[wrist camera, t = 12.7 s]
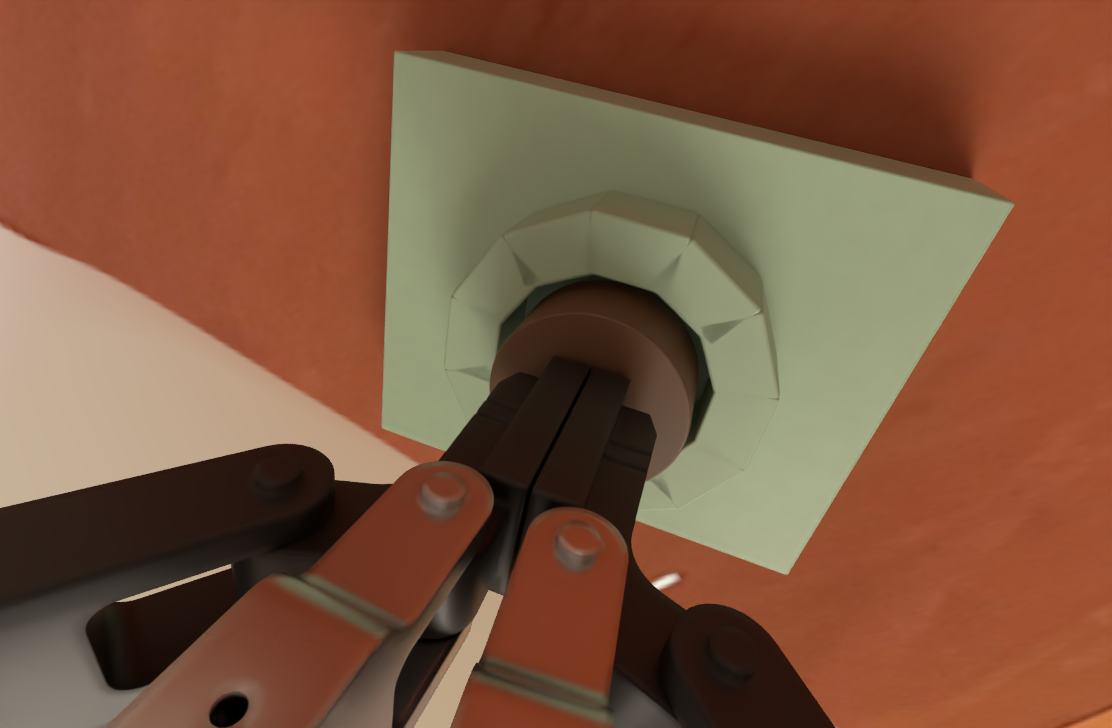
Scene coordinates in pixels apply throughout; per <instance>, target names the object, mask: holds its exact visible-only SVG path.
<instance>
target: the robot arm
mask: <svg viewBox="0 0 1112 728" xmlns="http://www.w3.org/2000/svg"><path fill="white" fill-rule="evenodd" d="M630 382H631V380H629V379H626V378H623V377H620V376H617V375H614V374H611V373H608V372H605V371H602V370H598V369H595V368H594V369H593V370H592V372H591V367H589V366H586V365H583V364H579V363H576V362H573V361H570V360H567V359H564V358H561V357H558V356H554V357H553V358H552V359H551V361H550V362H549V364H548V365H547V367H546V369H545V370H544V372H543V373H542V375H541V376H540V378H538V377H535V376H532V375H529V374H526V373H523V372H518V373H516V374H514V375H512V376H510V377H508V378H506V379H504V380H502V381H500V382H499V383H498V384H497V385H496V387H495V388H494V389H493V391H492V392H491V393H490V395H489V396H488V397H487V400H485V401H484V402H483V404H482V405H481V406H480V408H479V409H478V410H477V413H476V414H474V415H473V417H472V418H471V419H470V421H469V422H468V423H467V424H466V426H465V427H464V428H463V430H462V431H461V432H460V434H459V435H458V436H457V437H456V439H455V440H454V441H453V443H452V444H451V445H450V447H449V448H448V449H447V450H446V452H445V453H444V454H443V456H442V457H441V458H440V460H439V461H434V462H427V463H424V464H420V465H418V466H415V467H413V468H411V469H410V470H408V471H406V472H405V473H404V474H403V475H402V476H400V477H399V478H398V479H397V480H396V481H395V483H394V484H369V483H359V482H349V481H338V480H335V478H334V477H335V476H334V468H333V465H332V463H331V462H330V460H329V459H328V458H327V457H326V456H325V455H324V454H322V453H321V452H319V451H318V450H316V449H313V448H311V447H307V446H303V445H297V444H277V445H270V446H265V447H261V448H257V449H252V450H248V451H244V452H240V453H235V454H231V455H226V456H223V457H218V458H214V459H209V460H205V461H201V462H196V463H192V464H188V465H184V466H179V467H175V468H171V469H167V470H162V471H158V472H154V473H149V474H145V475H141V476H136V477H132V478H128V479H123V480H119V481H115V482H110V483H106V484H102V485H98V486H93V487H89V488H85V489H81V490H76V491H72V492H68V493H63V494H59V495H55V496H50V497H46V498H42V499H38V500H33V501H29V502H25V503H21V504H16V505H12V506H8V507H3V508H0V728H414V726H415V724H416V722H417V721H418V719H419V717H420V716H421V714H422V712H423V710H424V709H425V707H426V706H427V704H428V702H429V700H430V699H431V697H432V695H433V694H434V692H435V690H436V688H437V687H438V685H439V684H440V682H441V680H442V678H443V677H444V675H445V673H446V671H447V670H448V668H449V667H450V665H451V663H452V662H453V660H454V658H455V656H456V655H457V653H458V651H459V650H460V648H461V646H462V644H463V643H464V641H465V639H466V638H467V636H468V634H469V632H470V629H471V625H472V621H473V619H474V617H475V615H476V614H477V612H478V610H479V608H480V606H481V604H482V602H483V600H484V597H485V596H486V594H487V592H488V590H491V591H493V592H496V593H498V594H501V595H503V596H504V597H503V599H502V602H501V605H500V608H499V610H498V613H497V616H496V619H495V621H494V624H493V627H492V630H491V633H490V635H489V638H488V641H487V644H486V647H485V649H484V652H483V654H482V657H481V659H480V661H479V663H476V664H475V666H474V668H473V670H472V672H471V675H470V677H469V679H468V682H467V684H466V687H465V690H464V692H463V695H462V697H461V700H460V703H459V705H458V708H457V711H456V714H455V716H454V719H453V722H452V724H451V727H450V728H835V727H834V725H833V724H832V722H831V721H830V719H829V718H828V717H827V715H826V714H825V712H824V711H823V709H822V708H821V707H820V705H819V704H818V702H817V701H816V699H815V698H814V697H813V695H812V694H811V692H810V691H809V689H808V688H807V687H806V685H805V684H804V682H803V681H802V679H801V678H800V676H799V675H798V674H797V672H796V671H795V669H794V668H793V666H792V665H791V664H790V662H789V661H788V659H787V658H786V656H785V655H784V654H783V652H782V651H781V649H780V648H779V646H778V645H777V644H776V642H775V641H774V640H773V638H772V637H771V636H770V635H769V634H768V633H767V632H766V631H765V630H764V628H763V627H762V626H760V625H759V624H758V623H757V622H755V621H754V620H753V619H751V618H750V617H748V616H747V615H745V614H744V613H742V612H739V611H737V610H735V609H733V608H730V607H727V606H723V605H718V604H701V605H696V606H694V607H691V608H689V609H687V610H685V609H684V608H682V607H681V606H680V605H678V604H677V603H675V602H674V601H673V600H671V599H670V598H668V597H667V596H666V595H664V594H663V593H662V592H660V591H659V590H658V589H657V588H655V587H654V586H653V585H652V584H651V583H650V582H649V581H648V580H647V578H646V577H645V576H644V575H643V573H642V572H641V570H640V569H639V567H638V565H637V563H636V561H635V559H634V556H633V552H632V548H631V537H632V532H633V528H634V524H635V520H636V516H637V512H638V508H639V504H640V500H641V496H642V492H643V488H644V484H645V480H646V476H647V472H648V468H649V465H650V461H651V456H652V453H653V449H654V445H655V441H656V437H657V433H656V430H655V427H654V424H653V421H652V418H651V416H650V414H647V413H644V412H641V411H638V410H635V409H632V408H629V407H626V406H623V405H624V402H625V399H626V396H627V392H628V389H629V386H630ZM229 564H231V568H230V569H228V570H225V571H221V572H219V573H216V574H212V575H209V576H206V577H203V578H200V579H197V580H194V581H191V582H188V583H185V584H182V585H179V586H176V587H173V588H170V589H167V590H164V591H161V592H158V593H155V594H152V595H149V596H146V597H143V598H140V599H137V600H133V601H128V602H116V601H119V600H122V599H125V598H128V597H131V596H134V595H137V594H140V593H143V592H146V591H149V590H152V589H155V588H158V587H161V586H165V585H168V584H171V583H174V582H177V581H180V580H183V579H186V578H189V577H192V576H195V575H198V574H201V573H204V572H207V571H210V570H213V569H216V568H219V567H222V566H225V565H229Z"/></svg>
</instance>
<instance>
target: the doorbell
mask: <svg viewBox="0 0 1112 728" xmlns="http://www.w3.org/2000/svg"><path fill="white" fill-rule="evenodd" d="M1013 206H1014V202H1012V201H1011V200H1009V199H1007V198H1005V197H1004V196H1002V195H1000V194H999V193H997V192H995V191H993V190H992V189H990V188H988V187H987V186H985V185H983V184H981V183H980V182H978V181H976V180H974V179H972V178H968V177H963V176H959V175H955V174H951V173H947V172H943V171H939V170H935V169H930V168H926V167H922V166H918V165H914V164H910V163H906V162H901V161H897V160H893V159H889V158H885V157H881V156H877V155H873V154H868V153H864V152H860V151H856V150H852V149H848V148H844V147H839V146H835V145H831V144H827V143H823V142H819V141H815V140H811V139H806V138H802V137H798V136H794V135H790V134H786V133H782V132H778V131H773V130H769V129H765V128H761V127H757V126H753V125H749V124H744V123H740V122H736V121H732V120H728V119H724V118H720V117H716V116H711V115H707V114H703V113H699V112H695V111H691V110H687V109H683V108H678V107H674V106H670V105H666V104H662V103H658V102H654V101H649V100H645V99H641V98H637V97H633V96H629V95H625V94H621V93H616V92H612V91H608V90H604V89H600V88H596V87H592V86H588V85H583V84H579V83H575V82H571V81H567V80H563V79H559V78H554V77H550V76H546V75H542V74H538V73H534V72H530V71H526V70H521V69H517V68H513V67H509V66H505V65H501V64H497V63H492V62H488V61H484V60H480V59H476V58H472V57H468V56H464V55H459V54H455V53H451V52H447V51H417V50H397V51H395V52H394V71H393V101H392V130H391V159H390V188H389V217H388V247H387V276H386V305H385V334H384V363H383V393H382V422H381V427H382V428H383V429H386V430H388V431H391V432H394V433H397V434H399V435H402V436H405V437H408V438H410V439H413V440H416V441H419V442H421V443H424V444H427V445H430V446H432V447H435V448H438V449H441V450H443V451H446V450H447V449H448V448H449V447H450V445H451V444H452V443H453V441H454V440H455V439H456V437H457V436H458V435H459V434H460V432H461V431H462V430H463V428H464V427H465V426H466V424H467V423H468V422H469V421H470V419H471V418H472V417H473V415H474V414H476V413H477V410H478V409H479V408H480V406H481V405H482V404H483V402H484V401H485V400H487V397H488V396H489V395H490V389H489V385H490V374H491V370H492V365H493V363H494V360H495V358H496V355H497V353H498V351H499V350H500V348H501V346H502V345H503V344H504V342H505V341H506V340H507V339H508V338H509V336H510V335H511V334H512V333H513V332H514V331H515V329H516V328H517V327H518V326H519V325H520V324H521V322H522V321H523V320H524V319H525V318H526V317H527V315H528V314H529V313H530V312H531V311H532V310H533V308H534V307H535V306H536V305H537V304H538V303H539V302H540V301H541V300H542V299H544V298H545V297H546V296H547V295H549V294H550V293H552V292H554V291H555V290H557V289H559V288H562V287H564V286H566V285H570V284H573V283H576V282H582V281H588V280H606V281H615V282H619V283H624V284H628V285H631V286H633V287H636V288H639V289H641V290H643V291H645V292H647V293H649V294H651V295H652V296H654V297H655V298H657V299H658V300H660V301H661V302H663V303H664V304H665V305H666V306H667V307H668V308H669V309H671V310H672V311H673V313H674V314H675V315H676V316H677V317H678V318H679V319H680V320H681V322H682V323H683V325H684V326H685V328H686V329H687V331H688V333H689V335H690V337H691V339H692V341H693V344H694V347H695V350H696V353H697V359H698V371H699V376H698V384H697V390H696V396H695V402H694V408H693V414H692V420H691V425H690V431H689V434H688V437H687V441H686V443H685V445H684V447H683V449H682V451H681V452H680V454H679V455H678V457H677V458H676V459H675V461H674V462H673V463H672V464H671V465H670V466H669V467H668V468H667V469H666V470H664V471H663V472H662V473H660V474H659V475H658V476H656V477H654V478H652V479H651V480H649V481H647V482H645V484H644V488H643V492H642V496H641V500H640V504H639V508H638V512H637V516H636V521H639V522H642V523H645V524H647V525H650V526H653V527H656V528H658V529H661V530H664V531H667V532H669V533H672V534H675V535H678V536H680V537H683V538H686V539H689V540H691V541H694V542H697V543H700V544H702V545H705V546H708V547H711V548H713V549H716V550H719V551H722V552H724V553H727V554H730V555H733V556H735V557H738V558H741V559H744V560H746V561H749V562H752V563H755V564H758V565H760V566H763V567H766V568H769V569H771V570H774V571H777V572H780V573H782V574H785V575H787V574H788V573H789V571H790V570H791V568H792V567H793V565H794V563H795V562H796V560H797V558H798V557H799V555H800V553H801V552H802V550H803V549H804V547H805V545H806V544H807V542H808V540H809V539H810V537H811V536H812V534H813V532H814V531H815V529H816V527H817V526H818V524H819V523H820V521H821V519H822V518H823V516H824V514H825V513H826V511H827V509H828V508H829V506H830V505H831V503H832V501H833V500H834V498H835V496H836V495H837V493H838V492H839V490H840V488H841V487H842V485H843V483H844V482H845V480H846V478H847V477H848V475H849V474H850V472H851V470H852V469H853V467H854V465H855V464H856V462H857V461H858V459H859V457H860V456H861V454H862V452H863V451H864V449H865V447H866V446H867V444H868V443H869V441H870V439H871V438H872V436H873V434H874V433H875V431H876V430H877V428H878V426H879V425H880V423H881V421H882V420H883V418H884V416H885V415H886V413H887V412H888V410H889V408H890V407H891V405H892V403H893V402H894V400H895V399H896V397H897V395H898V394H899V392H900V390H901V389H902V387H903V386H904V384H905V382H906V381H907V379H908V377H909V376H910V374H911V372H912V371H913V369H914V368H915V366H916V364H917V363H918V361H919V359H920V358H921V356H922V355H923V353H924V351H925V350H926V348H927V346H928V345H929V343H930V341H931V340H932V338H933V337H934V335H935V333H936V332H937V330H938V328H939V327H940V325H941V324H942V322H943V320H944V319H945V317H946V315H947V314H948V312H949V310H950V309H951V307H952V306H953V304H954V302H955V301H956V299H957V297H958V296H959V294H960V293H961V291H962V289H963V288H964V286H965V284H966V283H967V281H968V279H969V278H970V276H971V275H972V273H973V271H974V270H975V268H976V266H977V265H978V263H979V262H980V260H981V258H982V257H983V255H984V253H985V252H986V250H987V249H988V247H989V245H990V244H991V242H992V240H993V239H994V237H995V235H996V234H997V232H998V231H999V229H1000V227H1001V226H1002V224H1003V222H1004V221H1005V219H1006V218H1007V216H1008V214H1009V213H1010V211H1011V209H1012V208H1013Z"/></svg>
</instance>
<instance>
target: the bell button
mask: <svg viewBox="0 0 1112 728" xmlns="http://www.w3.org/2000/svg"><path fill="white" fill-rule="evenodd" d="M554 356H558V357H561V358H564V359H567V360H570V361H573V362H576V363H579V364H583V365H586V366H589V367H591V372H592V370H593V369H594V368H595V369H598V370H602V371H605V372H608V373H611V374H614V375H617V376H620V377H623V378H626V379H629V380H631V382H630V386H629V389H628V392H627V396H626V399H625V402H624V405H623V406H626V407H629V408H632V409H635V410H638V411H641V412H644V413H647V414H650V416H651V418H652V421H653V424H654V427H655V430H656V433H657V437H656V441H655V445H654V449H653V453H652V456H651V461H650V465H649V468H648V472H647V476H646V480H645V482H647V481H649V480H651V479H652V478H654V477H656V476H658V475H659V474H660V473H662V472H663V471H664V470H666V469H667V468H668V467H669V466H670V465H671V464H672V463H673V462H674V461H675V459H676V458H677V457H678V455H679V454H680V452H681V451H682V449H683V447H684V445H685V443H686V441H687V437H688V434H689V431H690V425H691V420H692V414H693V408H694V402H695V396H696V390H697V384H698V376H699V371H698V359H697V353H696V350H695V347H694V344H693V341H692V339H691V337H690V335H689V333H688V331H687V329H686V328H685V326H684V325H683V323H682V322H681V320H680V319H679V318H678V317H677V316H676V315H675V314H674V313H673V311H672V310H671V309H669V308H668V307H667V306H666V305H665V304H664V303H663V302H661V301H660V300H658V299H657V298H655V297H654V296H652V295H651V294H649V293H647V292H645V291H643V290H641V289H639V288H636V287H633V286H631V285H628V284H624V283H619V282H615V281H606V280H588V281H582V282H576V283H573V284H570V285H566V286H564V287H562V288H559V289H557V290H555V291H554V292H552V293H550V294H549V295H547V296H546V297H545V298H544V299H542V300H541V301H540V302H539V303H538V304H537V305H536V306H535V307H534V308H533V310H532V311H531V312H530V313H529V314H528V315H527V317H526V318H525V319H524V320H523V321H522V322H521V324H520V325H519V326H518V327H517V328H516V329H515V331H514V332H513V333H512V334H511V335H510V336H509V338H508V339H507V340H506V341H505V342H504V344H503V345H502V346H501V348H500V350H499V351H498V353H497V355H496V358H495V360H494V363H493V365H492V370H491V374H490V385H489V389H490V393H491V392H492V391H493V389H494V388H495V387H496V385H497V384H498V383H499V382H500V381H502V380H504V379H506V378H508V377H510V376H512V375H514V374H516V373H518V372H523V373H526V374H529V375H532V376H535V377H538V378H540V376H541V375H542V373H543V372H544V370H545V369H546V367H547V365H548V364H549V362H550V361H551V359H552V358H553V357H554Z"/></svg>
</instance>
